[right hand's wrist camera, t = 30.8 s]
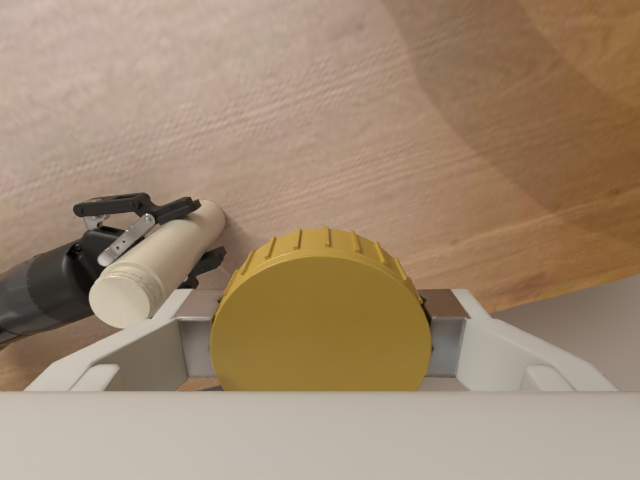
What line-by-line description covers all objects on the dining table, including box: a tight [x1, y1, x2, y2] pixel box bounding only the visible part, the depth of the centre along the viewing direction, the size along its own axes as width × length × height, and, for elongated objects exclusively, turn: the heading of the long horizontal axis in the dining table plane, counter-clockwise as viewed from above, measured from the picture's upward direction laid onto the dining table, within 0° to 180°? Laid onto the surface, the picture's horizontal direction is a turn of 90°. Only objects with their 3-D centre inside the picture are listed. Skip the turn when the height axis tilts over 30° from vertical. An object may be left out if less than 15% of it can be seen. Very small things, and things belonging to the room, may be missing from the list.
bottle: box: [89, 200, 226, 329], centre depth 31 cm, size 5×5×18 cm
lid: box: [210, 226, 432, 391], centre depth 9 cm, size 6×6×2 cm
